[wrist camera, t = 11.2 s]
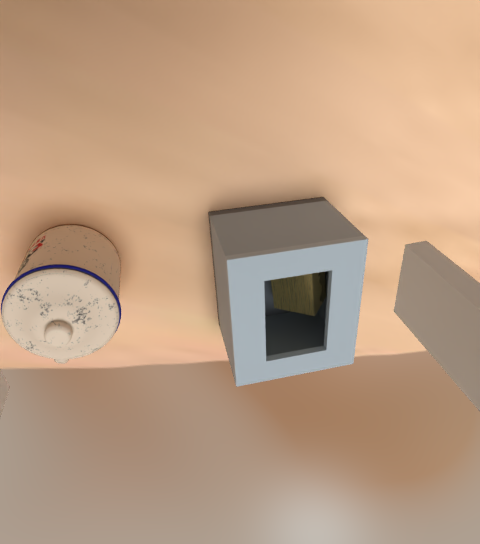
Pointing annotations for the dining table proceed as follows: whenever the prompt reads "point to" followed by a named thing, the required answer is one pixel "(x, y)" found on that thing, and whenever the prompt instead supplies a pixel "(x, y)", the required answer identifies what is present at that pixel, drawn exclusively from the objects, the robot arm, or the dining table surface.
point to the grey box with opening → (280, 264)
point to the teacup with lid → (65, 294)
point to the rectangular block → (300, 293)
